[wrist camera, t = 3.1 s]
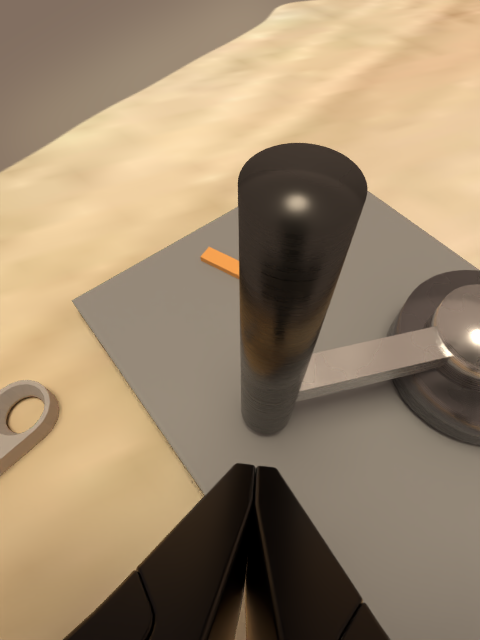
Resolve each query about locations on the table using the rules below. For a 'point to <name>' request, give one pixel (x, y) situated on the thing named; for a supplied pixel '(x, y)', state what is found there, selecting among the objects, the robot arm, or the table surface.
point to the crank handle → (316, 293)
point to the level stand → (313, 414)
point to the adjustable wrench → (8, 447)
